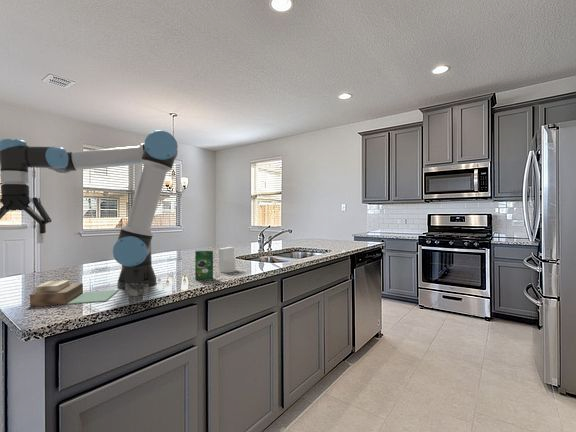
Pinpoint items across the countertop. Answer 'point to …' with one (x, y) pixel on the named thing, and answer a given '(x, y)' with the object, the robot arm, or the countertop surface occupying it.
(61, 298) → the tan wooden block
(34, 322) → the countertop surface
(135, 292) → the egg carton
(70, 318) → the countertop surface
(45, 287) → the tile
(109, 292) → the mat
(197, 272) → the coffee box
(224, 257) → the white upright block
